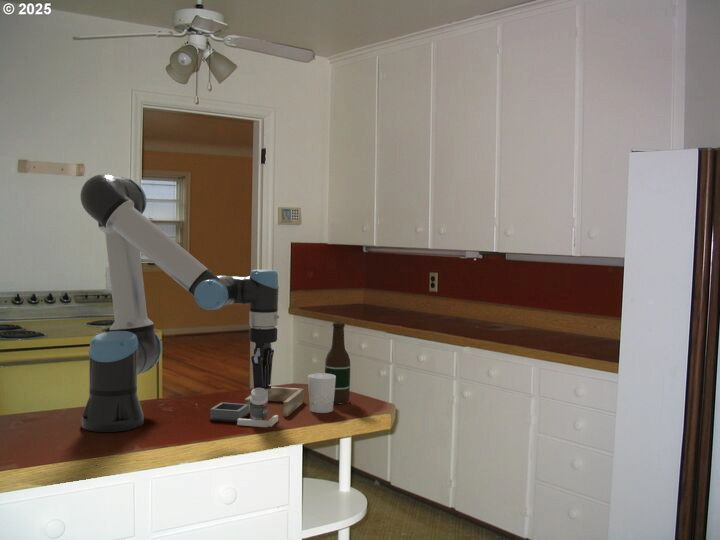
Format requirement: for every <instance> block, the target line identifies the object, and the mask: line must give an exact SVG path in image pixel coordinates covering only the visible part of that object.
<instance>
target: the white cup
mask: <svg viewBox="0 0 720 540" xmlns="http://www.w3.org/2000/svg"><path fill="white" fill-rule="evenodd" d="M307 377H308V379H307V380H308V381H307V382H308V383H307V385H308V401H309V411H310V412H311V413H315V414H316V413H317V414H328V413H331V412H333V411H334V404H333V402H334V394H335V381H336V376H335V375H333V374H327V373H325V372H323V373H322V372H320V373H319V372H316V373H311V374H309V375H307Z"/></svg>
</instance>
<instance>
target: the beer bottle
mask: <svg viewBox="0 0 720 540" xmlns="http://www.w3.org/2000/svg"><path fill="white" fill-rule="evenodd" d="M332 327H333V328H332V338H331V339H332V340H331V348H330V349H329V351H328V352H327V353H326V357H325V361H324V362H325V363H324V373H327V374H333V375H335V376H336V381H335V394H334V402H333V405H340V404H339V403H345V404H347V403H346V402H348V401H349V402H350V395H351V394H350V389H351V388H350V387H351V359H350V355H349V354H348V352H347V350H346V345H345V327H346V325H345V323H344V322H343V321H335V322H334V321H333V323H332ZM349 402H348V403H349Z"/></svg>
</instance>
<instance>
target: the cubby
mask: <svg viewBox="0 0 720 540" xmlns="http://www.w3.org/2000/svg"><path fill="white" fill-rule="evenodd" d="M304 396H305V388H298V387H297V388H296V387H282V386H281V387H280V386H271V389H268V402H269V401H270V402H280V403H281V402H282V403H283V407H282V408H283V411H282V417H289V416H290V415H291V414H292V413H293V412H294V411H296V410H297V409H298V408H299V407H300V406H301V405H302V404H303V403H304V401H305V399H304V398H305V397H304ZM250 398H251V394H250V395H249V396H247V397H246V398H244V404H249V414H250Z"/></svg>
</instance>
